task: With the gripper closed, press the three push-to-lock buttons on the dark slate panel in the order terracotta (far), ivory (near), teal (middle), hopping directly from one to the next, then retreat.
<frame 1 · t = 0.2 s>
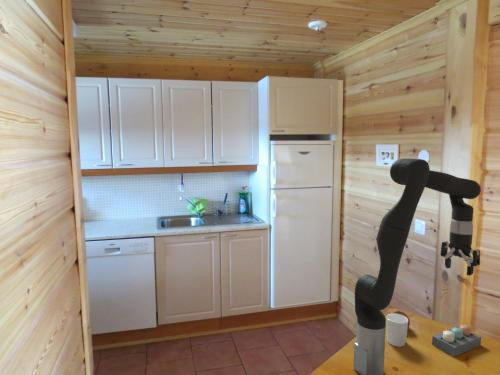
hand: (458, 271, 138), 28 cm above the table, fingers open, 8 cm apart
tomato: (399, 328, 150), on the table
white cup: (396, 342, 139), on the table
teal button: (456, 334, 136), point 4 cm above the table, slide at 0.0 cm
ivory button: (448, 338, 134), point 4 cm above the table, slide at 0.0 cm
terracotta button: (465, 331, 139), point 4 cm above the table, slide at 0.0 cm
button panel: (456, 344, 137), on the table
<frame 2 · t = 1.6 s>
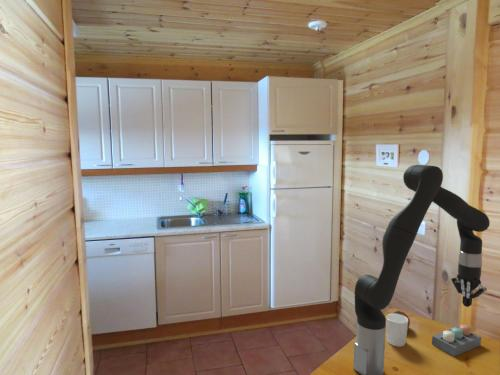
hand: (466, 305, 137), 15 cm above the table, fingers closed
nothing on the table moved.
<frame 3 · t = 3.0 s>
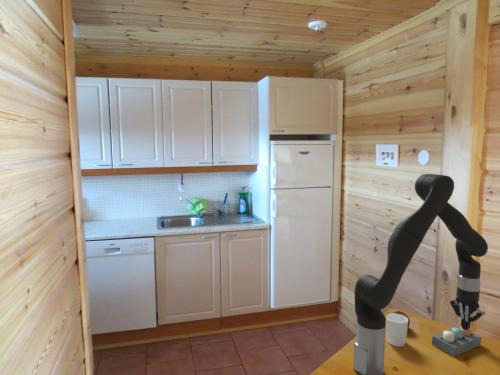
hand: (465, 328, 138), 5 cm above the table, fingers closed
terracotta button: (464, 333, 139), point 3 cm above the table, slide at 0.8 cm, touching gripper
everything else where it was.
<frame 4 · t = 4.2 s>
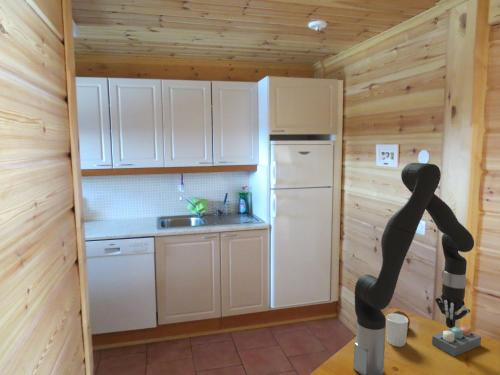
hand: (450, 327, 134), 8 cm above the table, fingers closed
terracotta button: (464, 333, 139), point 3 cm above the table, slide at 0.9 cm
everything else where it was.
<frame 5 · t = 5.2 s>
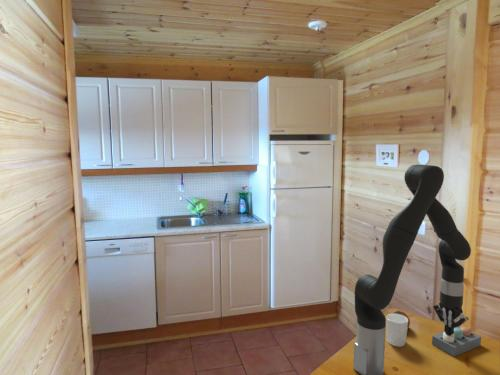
hand: (448, 334, 134), 6 cm above the table, fingers closed
ivory button: (448, 339, 134), point 4 cm above the table, slide at 0.6 cm, touching gripper
everything else where it was.
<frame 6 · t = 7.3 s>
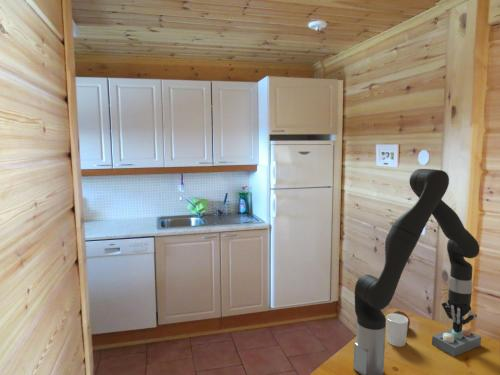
hand: (457, 331, 136), 5 cm above the table, fingers closed
teal button: (456, 336, 136), point 3 cm above the table, slide at 0.6 cm, touching gripper
ivory button: (448, 340, 134), point 3 cm above the table, slide at 0.9 cm
everything else where it was.
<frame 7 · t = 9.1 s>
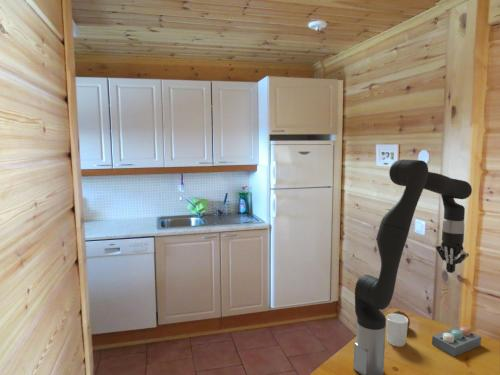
hand: (450, 272, 143), 26 cm above the table, fingers closed
teal button: (456, 337, 136), point 3 cm above the table, slide at 0.9 cm
everything else where it was.
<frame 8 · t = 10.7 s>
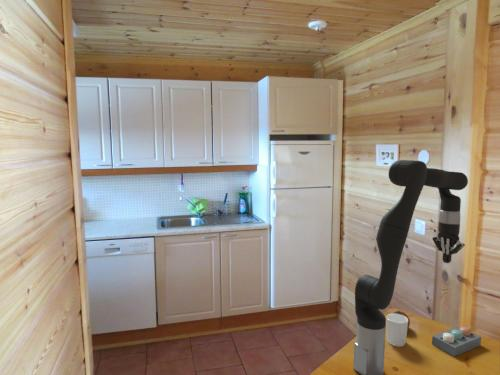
hand: (446, 262, 145), 29 cm above the table, fingers closed
nothing on the table moved.
at the end: terracotta button slide at 0.9 cm; ivory button slide at 0.9 cm; teal button slide at 0.9 cm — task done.
